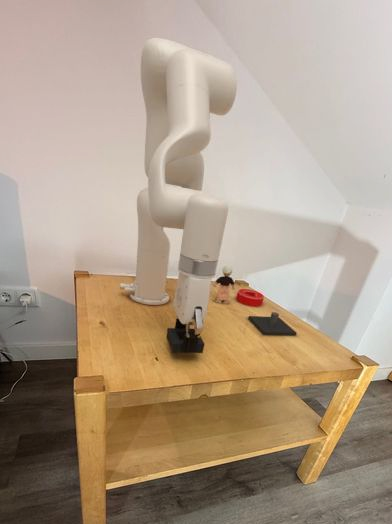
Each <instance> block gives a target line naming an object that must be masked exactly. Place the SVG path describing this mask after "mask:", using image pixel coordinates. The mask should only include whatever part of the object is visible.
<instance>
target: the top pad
mask: <svg viewBox="0 0 392 524" xmlns="http://www.w3.org/2000/svg"><path fill="white" fill-rule="evenodd" d="M192 329H193V328H190V330H192ZM184 335H186V328H175V327H167V328H166V337H165V338H166V340H167V344H168V345H169V348H170V351H171V353H172V354H203V353H204V349H205V342H204V340H203V338H202V336H201V335H200V337H199V340H198V345H197V350H196V352H182V344H183V338H184Z"/></svg>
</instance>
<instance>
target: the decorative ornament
mask: <svg viewBox="0 0 392 524" xmlns="http://www.w3.org/2000/svg"><path fill="white" fill-rule="evenodd" d="M235 297H236V298H235V300H236V301H237V302H238V303H240V304H241V305H245V306H249V307H260V306H262V305H263V302H264V298H265V296H264V294H263V293H261V292H259V291H257V290H254V289H250V288H241V289H238V290H237V293H236V296H235Z"/></svg>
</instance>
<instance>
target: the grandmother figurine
mask: <svg viewBox="0 0 392 524" xmlns="http://www.w3.org/2000/svg"><path fill="white" fill-rule="evenodd" d="M222 274H223V276H219V277H218V278H217V279H216V280H215V282H214V283H213V284H212V285H213V287H217V285H218V284H219V287H218V290H217V297H216V300H215V302H216V303H218V304H222V303H223V304H224V305H225V304H227V305H228V304H229V297H230V296H229V295H230V285H231V289H232V290H236V285H235V281H234V279H233V278H232V277H231V274H233V267H232V266H230V265H225V266H224V267H223V268H222Z"/></svg>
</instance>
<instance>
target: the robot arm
mask: <svg viewBox="0 0 392 524" xmlns="http://www.w3.org/2000/svg"><path fill="white" fill-rule="evenodd" d="M140 85H141V91H142V97H143V101H144V106H145V114H146V116H145V117H146V121H145V122H146V125H145V126H146V127H145V141H144V142H145V143H144V172H145V176H146V177H147V187H145V188H143V189H142V190H140V191H139V192H138V195H137V197H136V212H137V213H136V214H137V231H138V232H137V251H136V252H137V253H136V267H135V280H133V282H130V283H123V282H121V283H119V289H120V290H122V291H124V292H125V293H128V292H129V298H130V299H131V300H132V301H133V302H136V303H138V304H143V305H148V306H160V305H161V306H162V305H165V304H167V303H168V302H169V301H170V295H169V294H168V293H166V287H167V278H168V268H169V261H170V260H169V259H170V253H171V252H170V251H171V241H170V239H169V237H168V235H167V234H166V232H165V230H164V228H168V229H176V230H183V231H182V236H181V237H182V238H181V245H180V252H179V259H178V265H177V271H178V277H177V281H176V286H175V292H174V297H173V303H172V306H173V310H174V312H175V315H176V318H175V324H174V328H186V335H184V338H183V344H182V352H196V350H197V345H198V340H199V337H200V336H201V334H202V332H203V331H204V324H205V322H206V317H207V314H208V310H209V309H208V308H209V302H210V295H211V288H212V287H211V285H212V279H213V278H215V277H216V273H217V267H218V262H219V257H220V253H221V249H222V244H223V243H222V242H223V238H224V233H225V229H226V224H227V220H228V215H229V205H228V202H227V201H226V200H225V199H222V198H220V197H217V196H215V194H213V193H212V192H208V191H203V190H202V189H203V184H204V183H203V182H204V174H205V161H204V157H203V155H202V153H201V152H202V151H204V150H205V149H206V148H207V147H208V146H209V144H210V141H211V136H212V135H211V134H212V131H211V116H210V115H211V114H212V115H217V116H219V117H220V116H221V117H222V116H226V115H227V114H228V113H229V112H230V111H231V109H232V108H233V105H234V104H235V100H236V96H237V87H238V85H237V76H236V73H235V70H234V68H233V66H232V65H231V64H230V63H229V62H227V61H224V60H222V59H220V58H218V57H216V56H214V55H211V54H209V53H206V52H203V51H201V50H197V49H195V48H192V47H189V46H187V45H184V44H182V43H179V42H177V41H174V40H171V39H167V38H162V37H153V38H150V39H148V40H146V41H145V43H144V45H143V46H142V51H141V56H140ZM192 320H193V321H192ZM191 326H194V327H193V328H191ZM190 329H192V330H190Z"/></svg>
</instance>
